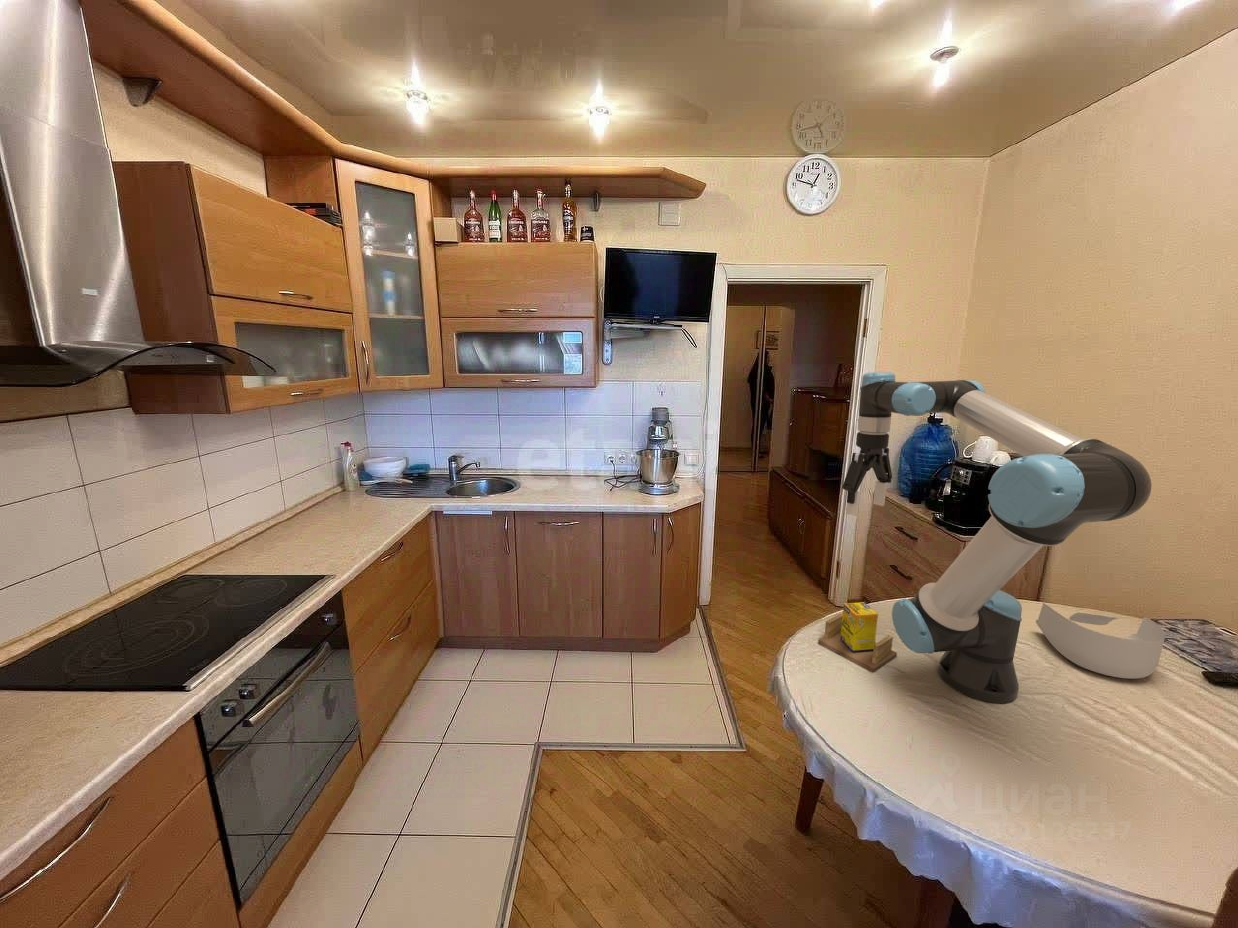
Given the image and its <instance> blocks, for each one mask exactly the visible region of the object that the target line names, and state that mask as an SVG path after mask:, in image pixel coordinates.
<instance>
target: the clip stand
mask: <svg viewBox="0 0 1238 928" xmlns="http://www.w3.org/2000/svg"><path fill="white" fill-rule="evenodd" d="M842 617H843V613H839V614H837V615H835V616H833V617H832V618H829V619H828V620H826V621H825V626H824V627H825V628H824V629H825V631H824V636H822V637H821V638H819V639H818V641H817V644H818V645H820V646H822V647H824V648H825V649H827V650H830V651H831V652H834V653H835V654H837V655H839V656H841V657H842V658H845V659H846V660H848V661H849V662H852V663H854V664H856V665H857V666H859V667H861V668H863V669H865V670H866V671H869V672H871V673H872V674H874V673H875V672H877V671H879V670H880V669H881V668H883V667H884V666H885V665H887V664H889V663H890V662H891V661H894V659H895V658H897V656H898V654H897V652H896V651H894V650H892V648H893V640H894V636H892V635H890V634H888V635H887V636H885V637H884V638H882V639H881V640H878V641H877V642H876V641H875V644H874V650H873V651H871V652H860V653H852V652H851V650H850V649H849V648H848V647H847V646H846V645H845V644H844V643H843V642H842V641H841V640H840V638H841V627H842Z"/></svg>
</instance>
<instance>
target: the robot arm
mask: <svg viewBox="0 0 1238 928" xmlns="http://www.w3.org/2000/svg"><path fill="white" fill-rule="evenodd" d="M859 390H860V392H859V405H858V407H859V408H858V418H857V431H858V432H856V438H855V439H856V440H855V446H856V447H858V448H859V449H860V451H859V452H853V453H852V455H851V461H850V465H848V466H849V467H848V470H847V472H846V475H845V479H844V481H843V484H842V490H844V491H846V492H847V494H846V495H847V496H846V504H845V505H846V507H845V514H847V515H850V516H853V517H857V516H858V509H859V498H860V491H858V489H859V488H860V487H861V484H862V482H863V480H864V478H865V476H866V475H867V472H869V471H870V470H871V469H872V470H873V472H874V475H875V478H876V481H875V483H874V484H875V485H874V493H873V503H872V504H873V505H876V506H880V507H884V506H885V502H886V494H887V486H888V485H887V483H889V484H891V483H892V479H893V472H892V467H891V461H890V456H889V455H890V448H889V442H890V441H889V440H890V434H889V432H890V431H891V421H892V414H893V413H894V414H897V415H898V414H900V415H903V416H906V417H910V416H912V417H913V416H914V417H920V416H923V415H926V414H937V413H938V414H939V413H941V414H943V413H945V414H948V415H950V416H952V417H953V418H955V419H958V420H959V421H961V422H963V423H964V424H966V425H968V426H970V427H972V428H973V429H975V430H977V431H978V432H980V433H982V434H984V435H986V436H988V437H989V438H991V439H993V440H994V441H996V442H998V443H999V444H1002V445H1003V446H1005V447H1006V448H1007V449H1010V450H1011V451H1013V452H1015V453H1017V454H1018V455H1020V456H1022V457H1017V458H1014V459H1011V460H1009V461H1007V462H1005V463H1004V464H1002V465H1001V466H1000V467H999V468H998V469H997V470H996V471H995V472H994V473H993V475H992V476H991V479H990V481H989V484H988V488H987V489H988V490H990V493H989V494H987V498H988V502H989V504H988V511H989V513H990V515H991V516H990V517H989V519H988V520H986V522H985V523H984V525H983V526H982V527H981V528H980V529H979V530H978V532H977V533H976V534H975V535H974V536H973V538H972V539H971V540H970V541H969V542H968V544H967V545H966V547H964V548H963V550H962V551H961V552H960V554H959V555H957V557H956V558H955V559H954V560H953V562H952V563H951V565H949V567H948V568H947V569H946V570H945V572H944V573H943V574H942V575H941V576H940V578H939V579H938V580H937V581H936V582H929V583H926V584H924V585H923V586H922V587H921V588H920V589H919V590H918V591H917V593H916V594H915V595H914V596H913V597H911V598H901V599H899V600H897V601H895V603H893V605H892V608H891V609H892V610H891V618H892V622H893V623H892V624H893V627H894V629H895V633H896V635H897V636H898V637H899V639H900V641H901V642H902V644H904V646H905V647H906V648H907V649H909V650H910V651H911V652H914V653H916V654H930V655H931V654H934V653H943V654H942V655H941V657H940V659H938V660H939V661H938V666H937V672H938V673H937V674H938V675H939V677H940V678H941V679H942V681H944V683H945V684H946V685H948V686H949V687H951V688H952V689H954V690H955V691H957V692H959V693H961V694H962V695H965V696H966V697H969V698H972V699H975V700H978V701H982V702H987V703H993V704H1005V703H1006V704H1007V703H1011V702H1013V701H1015V700H1016V699H1017V697H1018V694H1019V688H1020V687H1019V686H1020V685H1019V681H1018V676H1017V673H1016V669H1015V665H1014V659H1015V658H1014V657H1015V652H1016V647H1017V642H1018V636H1019V631H1020V627H1021V622H1022V621H1023V619H1022V613H1023V611H1022V610H1023V607H1022V603H1020V601H1019V600H1018V599H1017V598H1015V596H1013V595H1012V594H1009V593H1008V592H1005V591H1003V590H1001V588H1003V587H1004V586H1005V584H1007V583H1008V582H1009V581H1010V580H1011V579H1012V578H1013V576H1014V575H1016V573H1018V572H1019V571H1020V569H1021V568H1022V567H1023V566H1025V565H1026V563H1028V562H1029V560H1031V559H1032V558H1033V557H1034V555H1036V553H1038V552H1039V550H1041V549H1042V548H1043V546H1044V547H1052V546H1053V547H1054V546H1058V545H1060V544H1061V543H1062V544H1063V542H1064V541H1065V540H1066V539H1067V538H1069V536H1071V535H1072V533H1073V532H1075V531H1076V530H1077V529H1078V528H1079V527H1080V526H1082V525H1083V524H1087V523H1096V522H1110V521H1115V520H1116V521H1117V520H1121V519H1123V518H1126V517H1129V516H1131V515H1133V514H1134V513H1136V512H1138V511H1139V510H1141V508H1142V507H1143V506H1145V504H1146V503H1147V502H1148V500H1149V498H1150V495H1151V492H1152V486H1153V485H1152V480H1151V475H1150V473H1149V472H1148V470H1147V469H1146V467H1145V466H1144V465H1143V464H1142V463H1141V462H1140V461H1139V460H1138V459H1136V458H1135V457H1134V456H1132V455H1130V454H1129V453H1127V452H1125V451H1123V450H1121V449H1119V448H1118V447H1115V446H1113V445H1111V444H1109V443H1106V442H1104V441H1102V440H1100V439H1098V438H1085V439H1083V438H1081V437H1078V436H1077V435H1075V434H1072V433H1070V432H1068V431H1066V430H1065V429H1062V428H1060V427H1057V426H1056V425H1054V424H1051V423H1050V422H1047V421H1046V420H1043V419H1041V418H1038V417H1036V416H1034V415H1033V414H1030V413H1028V412H1026V411H1024V410H1022V409H1019V408H1017V407H1016V406H1013V405H1011V404H1009V403H1007V402H1004V401H1003V400H1001V399H999V398H996V397H995V396H992V395H990V394H987V393H986V390H985V388H984V386H983V385H982V383H980V382H979V381H975V380H967V379H957V380H938V381H936V380H935V381H896V374H895V373H894V372H888V371H887V372H886V371H884V372H883V371H882V372H881V371H877V372H876V371H875V372H870V371H869V372H866V373H864V374H863V376H862V379H861V385H860V388H859Z"/></svg>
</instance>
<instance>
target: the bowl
mask: <svg viewBox="0 0 1238 928" xmlns="http://www.w3.org/2000/svg"><path fill="white" fill-rule="evenodd" d="M1116 619H1118V617H1114V616H1109V615H1108V616H1105V615H1099V614H1093V613H1091V614H1090V613H1085V612H1075V613H1074V614H1071V615H1070V616H1069V618H1067V617H1065V616H1063V615H1062V614H1061V613H1059V612H1057V611H1056V610H1055V609H1053V608H1052V607H1051V606H1049V605H1048V604H1046V603H1045V602H1043V603H1042V606H1041V609H1040V611H1039V615H1038V618H1037V619H1036V620H1035V623H1036V625H1037V626H1038V628H1039V629H1040V631H1041V632H1042V633H1043V635H1044V637H1046V639H1047V640H1048V641H1049V643H1050V644H1051V645H1052V647H1054V649H1056V650H1057V651H1058V652H1059V653H1060V654H1061V655H1062V656H1063V657H1064V658H1066V659H1067V660H1069V661H1070V662H1072V663H1074V664H1075V665H1077V666H1079V667H1081V668H1083V669H1087V670H1089V671H1092V672H1094V673H1098V674H1101V675H1104V676H1110V677H1113V678H1121V679H1130V680H1131V679H1132V680H1135V679H1143V678H1146V677H1148V676H1150V675H1152V674H1153V672H1154V671H1155V670H1156V669H1157V667H1158V664H1159V661H1160V658H1161V654H1162V650H1163V647H1164V643H1165V638H1166V633H1165V631H1164V629H1163V628H1162V627H1161V626H1160V625H1159V624H1158V623H1157V622H1155V621H1153V620H1151V619H1149V618H1148V617H1146V616H1144V617H1143V618H1142V620H1141V623H1140V624H1139V628H1138V630H1137V632H1136V633H1134V634H1131V635H1128V636H1127V637H1124V638H1123V637H1117V636H1114V635H1110V634H1105V633H1102V632H1099V631H1096V630H1093V629H1089V628H1087V627H1084V626H1082V625H1079V623H1081V624H1087V625H1097V626H1106V625H1108V624H1110V623H1111V622H1112V621H1114V620H1116Z"/></svg>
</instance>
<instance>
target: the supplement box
mask: <svg viewBox="0 0 1238 928" xmlns="http://www.w3.org/2000/svg"><path fill="white" fill-rule="evenodd" d="M842 614H843V617H842V627H841V638H840V640H841V641H842V642H843V643H844V644H845V645H846V646H847V647H848V648H849V649H850V650H851V652H852V653H860V652H871V651H873V650H874V644H875V642H876V635H877V627H878V626H877V625H878V619H879V617H878V616H879V614H878V613H877V612H876V611H874V609H872V608H871V607H870V606H869V605H868V604H867V603H866V602H864V601H861V602H849V603H848V602H847V603H846V602H845V603H843V607H842Z"/></svg>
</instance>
